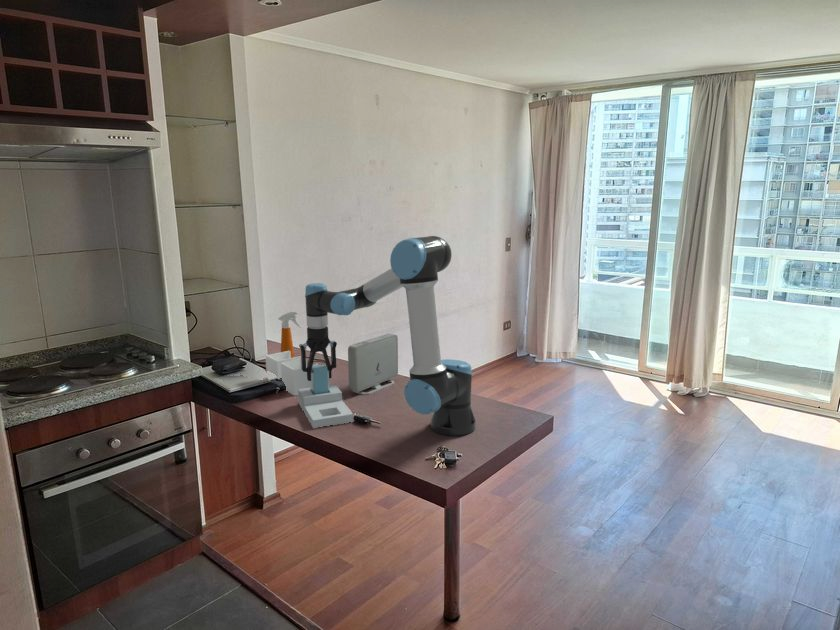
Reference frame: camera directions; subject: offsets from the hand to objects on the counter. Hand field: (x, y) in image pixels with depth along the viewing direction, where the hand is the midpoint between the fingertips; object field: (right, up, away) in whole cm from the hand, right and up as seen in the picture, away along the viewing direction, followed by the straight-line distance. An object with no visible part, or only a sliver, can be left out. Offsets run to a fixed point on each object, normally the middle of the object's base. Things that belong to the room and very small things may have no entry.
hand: (319, 387), depth 208 cm
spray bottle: (-21, +3, +46) cm, 51 cm away
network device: (+18, -3, +22) cm, 29 cm away
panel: (+3, -8, -5) cm, 10 cm away
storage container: (-16, -2, +25) cm, 29 cm away
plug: (0, -4, +1) cm, 4 cm away
